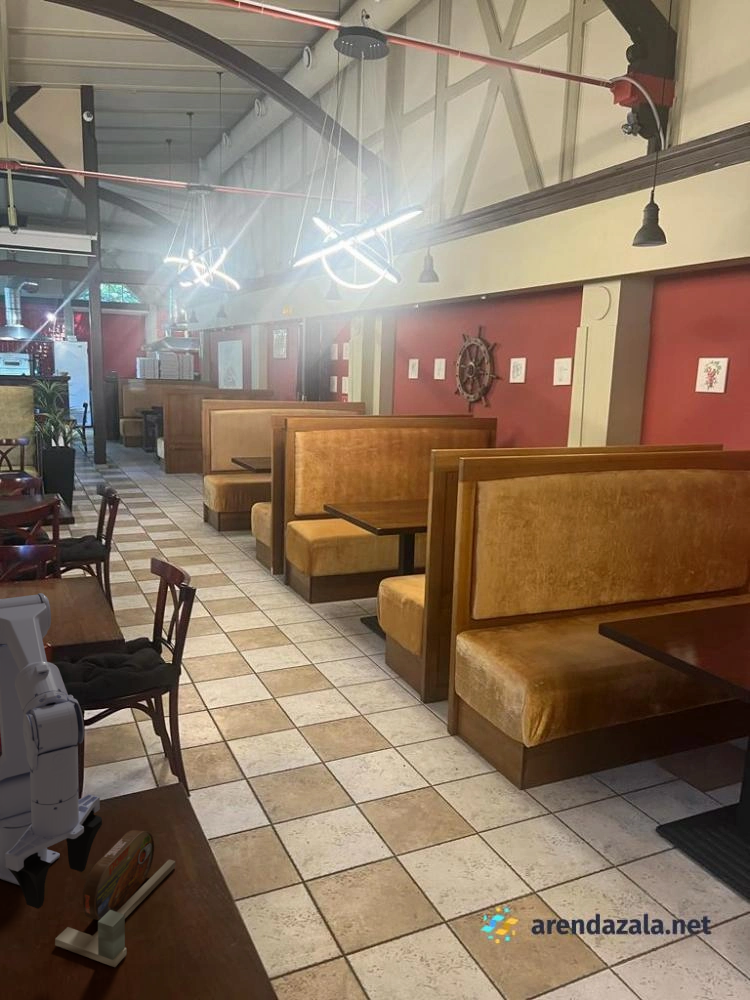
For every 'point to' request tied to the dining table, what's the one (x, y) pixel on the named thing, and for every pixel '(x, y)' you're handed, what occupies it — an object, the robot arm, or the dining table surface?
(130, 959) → the dining table surface
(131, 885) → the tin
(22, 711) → the robot arm
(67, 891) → the dining table surface
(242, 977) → the dining table surface
